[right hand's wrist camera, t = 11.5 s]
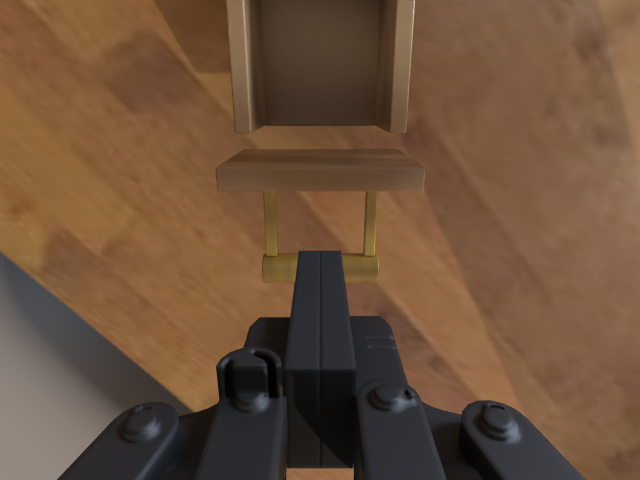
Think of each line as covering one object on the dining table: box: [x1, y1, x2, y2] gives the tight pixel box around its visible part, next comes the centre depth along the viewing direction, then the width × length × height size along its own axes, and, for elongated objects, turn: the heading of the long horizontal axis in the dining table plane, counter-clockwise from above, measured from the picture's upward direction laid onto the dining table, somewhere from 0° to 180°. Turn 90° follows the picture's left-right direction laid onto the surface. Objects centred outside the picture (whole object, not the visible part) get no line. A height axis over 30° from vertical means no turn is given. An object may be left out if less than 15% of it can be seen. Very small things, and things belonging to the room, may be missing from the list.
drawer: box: [216, 0, 425, 283], centre depth 21 cm, size 26×10×8 cm, turn 0°
